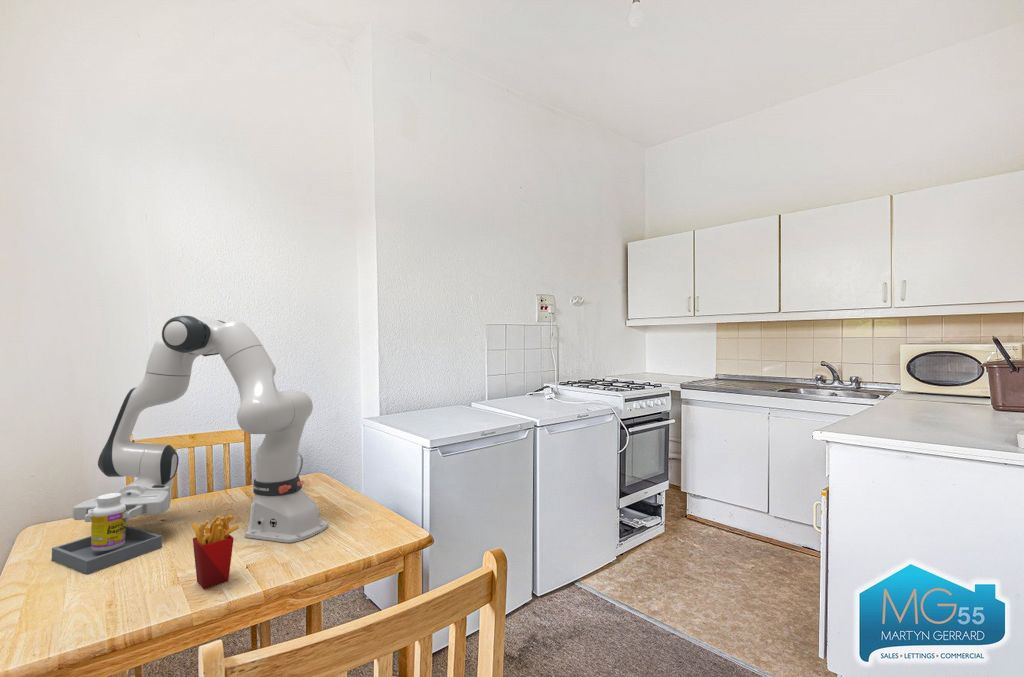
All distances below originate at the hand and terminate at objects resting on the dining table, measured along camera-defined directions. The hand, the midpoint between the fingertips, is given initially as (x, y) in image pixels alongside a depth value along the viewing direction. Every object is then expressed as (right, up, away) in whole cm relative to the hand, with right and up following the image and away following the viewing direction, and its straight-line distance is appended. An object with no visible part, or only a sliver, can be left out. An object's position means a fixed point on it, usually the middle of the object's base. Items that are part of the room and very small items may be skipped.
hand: (107, 517), depth 120 cm
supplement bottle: (0, -8, +1) cm, 8 cm away
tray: (0, -9, +1) cm, 9 cm away
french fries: (+35, -10, -12) cm, 39 cm away
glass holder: (+20, -10, +53) cm, 58 cm away
